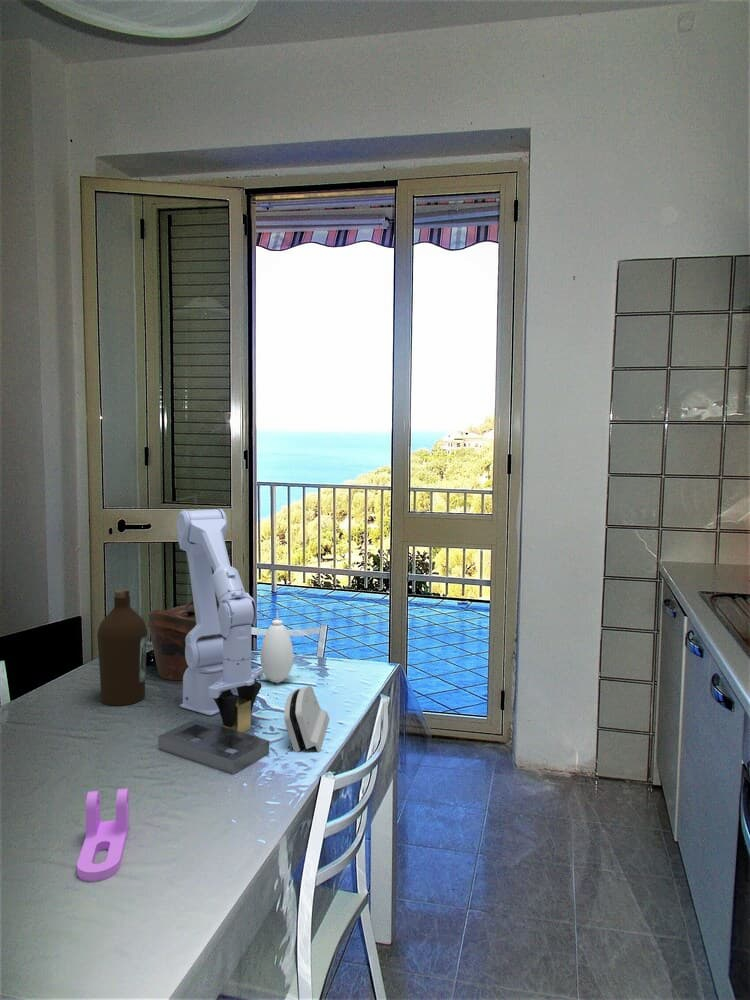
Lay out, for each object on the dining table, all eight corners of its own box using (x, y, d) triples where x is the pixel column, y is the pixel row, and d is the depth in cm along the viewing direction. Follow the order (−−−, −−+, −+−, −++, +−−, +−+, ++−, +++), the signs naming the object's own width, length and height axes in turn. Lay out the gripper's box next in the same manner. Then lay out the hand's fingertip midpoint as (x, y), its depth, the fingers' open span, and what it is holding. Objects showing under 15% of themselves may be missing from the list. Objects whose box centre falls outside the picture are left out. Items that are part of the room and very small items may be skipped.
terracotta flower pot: (221, 657, 190) (220, 593, 188) (221, 683, 171) (220, 611, 169) (153, 661, 186) (151, 595, 185) (145, 688, 167) (143, 615, 165)
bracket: (90, 831, 106) (90, 787, 105) (129, 827, 107) (129, 783, 106) (73, 884, 93) (72, 834, 93) (117, 879, 94) (117, 830, 94)
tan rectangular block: (222, 730, 143) (222, 702, 142) (236, 724, 146) (236, 696, 146) (237, 735, 141) (237, 706, 140) (250, 728, 144) (250, 700, 144)
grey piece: (319, 753, 133) (302, 704, 133) (296, 760, 134) (279, 711, 133) (329, 718, 150) (314, 675, 149) (309, 725, 150) (293, 682, 150)
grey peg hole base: (158, 748, 134) (158, 736, 134) (196, 730, 142) (195, 718, 142) (233, 774, 124) (233, 760, 124) (269, 753, 133) (269, 740, 133)
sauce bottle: (254, 681, 172) (254, 610, 170) (278, 674, 178) (278, 604, 176) (275, 689, 167) (275, 615, 165) (299, 681, 173) (300, 610, 171)
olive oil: (96, 709, 153) (94, 596, 150) (99, 692, 163) (98, 586, 161) (147, 704, 156) (146, 594, 154) (147, 688, 166) (147, 584, 164)
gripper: (227, 669, 134) (227, 738, 135) (275, 651, 146) (274, 714, 148) (200, 663, 137) (200, 730, 139) (249, 645, 150) (248, 707, 151)
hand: (236, 721), depth 143 cm, fingers open, 5 cm apart
